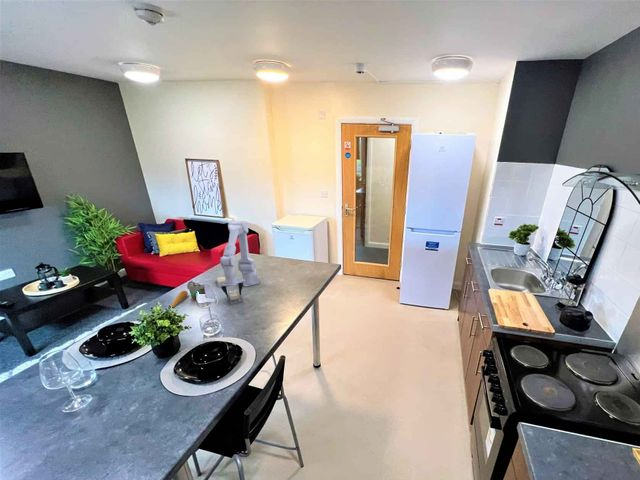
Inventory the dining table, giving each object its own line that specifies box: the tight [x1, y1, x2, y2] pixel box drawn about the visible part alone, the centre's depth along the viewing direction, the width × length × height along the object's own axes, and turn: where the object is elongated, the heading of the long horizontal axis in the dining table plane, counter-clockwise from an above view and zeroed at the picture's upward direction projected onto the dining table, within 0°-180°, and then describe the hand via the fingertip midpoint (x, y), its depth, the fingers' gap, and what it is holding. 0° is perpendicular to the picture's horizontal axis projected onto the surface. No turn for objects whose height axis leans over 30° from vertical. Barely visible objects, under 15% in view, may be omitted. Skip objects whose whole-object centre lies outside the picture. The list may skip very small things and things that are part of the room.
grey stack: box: [227, 293, 242, 305], centre depth 175 cm, size 6×9×3 cm, turn 30°
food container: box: [186, 280, 207, 302], centre depth 174 cm, size 12×6×10 cm, turn 62°
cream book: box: [227, 289, 241, 301], centre depth 174 cm, size 5×8×2 cm, turn 30°
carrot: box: [170, 290, 189, 308], centre depth 170 cm, size 20×4×4 cm, turn 3°
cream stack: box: [216, 275, 226, 285], centre depth 196 cm, size 6×9×3 cm, turn 30°
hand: (234, 295), depth 174 cm, fingers open, 6 cm apart
